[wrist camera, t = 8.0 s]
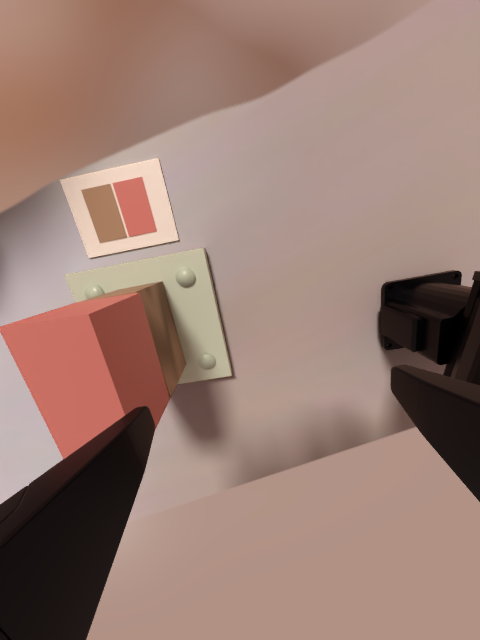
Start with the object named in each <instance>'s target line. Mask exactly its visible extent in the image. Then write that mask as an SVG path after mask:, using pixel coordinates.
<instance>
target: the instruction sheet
mask: <svg viewBox="0 0 480 640" xmlns="http://www.w3.org/2000/svg"><path fill="white" fill-rule="evenodd" d="M60 182H61V185H62V187H63V190H64V193H65V195H66V198H67V201H68V204H69V206H70V209H71V212H72V214H73V217H74V220H75V222H76V225H77V228H78V230H79V233H80V236H81V238H82V241H83V244H84V246H85V249H86V252H87V254H88V257H89V258H92V257H97V256H102V255H107V254H112V253H117V252H122V251H127V250H132V249H137V248H142V247H147V246H152V245H157V244H162V243H167V242H172V241H177V240H179V237H178V233H177V229H176V225H175V221H174V217H173V213H172V209H171V206H170V202H169V198H168V194H167V190H166V186H165V182H164V178H163V174H162V170H161V166H160V162H159V158H155V159H151V160H146V161H142V162H137V163H133V164H128V165H124V166H119V167H115V168H110V169H106V170H101V171H97V172H92V173H88V174H83V175H79V176H74V177H70V178H65V179H61V180H60Z"/></svg>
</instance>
